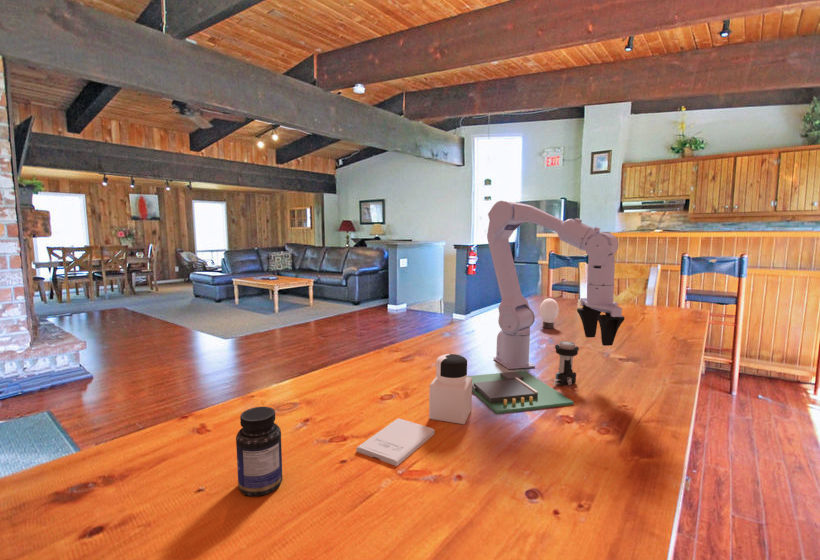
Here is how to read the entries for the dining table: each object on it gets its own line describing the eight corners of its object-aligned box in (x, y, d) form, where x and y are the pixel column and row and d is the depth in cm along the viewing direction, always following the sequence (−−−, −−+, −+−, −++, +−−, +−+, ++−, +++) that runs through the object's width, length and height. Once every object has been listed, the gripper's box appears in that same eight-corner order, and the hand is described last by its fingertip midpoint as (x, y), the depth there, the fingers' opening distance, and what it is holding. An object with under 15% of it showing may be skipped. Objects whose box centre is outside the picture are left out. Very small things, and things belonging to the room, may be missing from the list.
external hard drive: (434, 437, 78) (396, 469, 67) (397, 425, 82) (356, 454, 72) (434, 428, 78) (396, 460, 67) (397, 417, 82) (356, 445, 71)
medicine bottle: (471, 410, 88) (473, 353, 86) (464, 425, 81) (466, 364, 80) (438, 405, 90) (439, 349, 89) (428, 419, 83) (429, 360, 82)
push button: (562, 390, 99) (564, 348, 97) (544, 382, 103) (546, 342, 102) (581, 385, 102) (584, 344, 100) (563, 378, 106) (565, 339, 105)
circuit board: (459, 379, 105) (459, 372, 105) (524, 373, 110) (525, 366, 110) (496, 413, 86) (496, 405, 86) (573, 404, 91) (574, 396, 90)
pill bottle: (245, 473, 65) (242, 404, 64) (286, 472, 66) (284, 403, 64) (232, 499, 59) (228, 423, 57) (277, 497, 59) (274, 422, 58)
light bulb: (540, 329, 156) (541, 299, 155) (537, 325, 163) (539, 296, 161) (559, 330, 155) (561, 300, 153) (556, 325, 162) (557, 297, 160)
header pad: (473, 387, 98) (473, 381, 98) (516, 383, 101) (517, 377, 101) (490, 403, 89) (491, 396, 89) (537, 398, 92) (537, 391, 92)
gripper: (635, 287, 93) (633, 348, 95) (600, 280, 107) (598, 333, 109) (605, 288, 92) (602, 349, 94) (573, 281, 107) (571, 334, 108)
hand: (598, 341), depth 101 cm, fingers open, 7 cm apart
